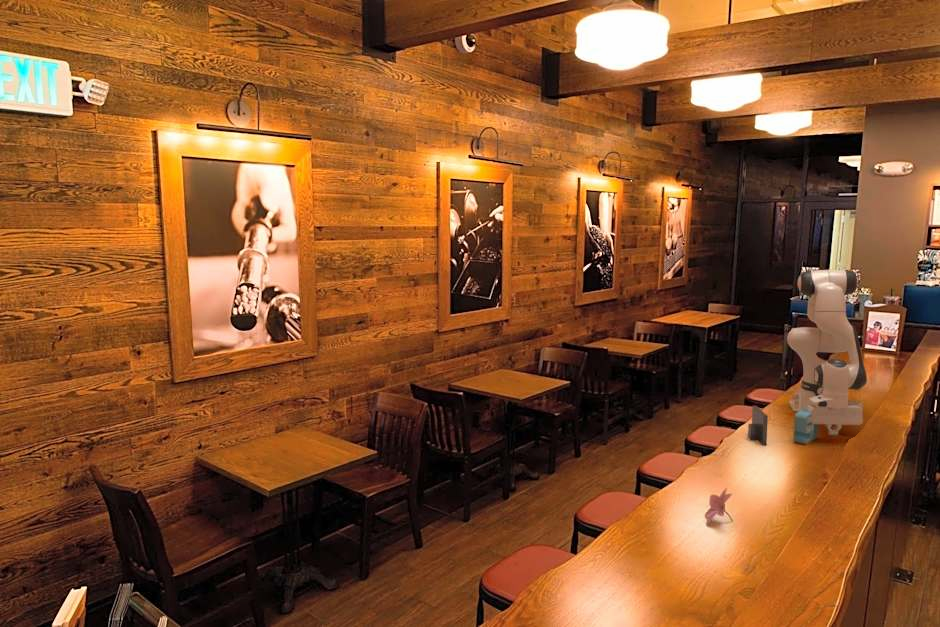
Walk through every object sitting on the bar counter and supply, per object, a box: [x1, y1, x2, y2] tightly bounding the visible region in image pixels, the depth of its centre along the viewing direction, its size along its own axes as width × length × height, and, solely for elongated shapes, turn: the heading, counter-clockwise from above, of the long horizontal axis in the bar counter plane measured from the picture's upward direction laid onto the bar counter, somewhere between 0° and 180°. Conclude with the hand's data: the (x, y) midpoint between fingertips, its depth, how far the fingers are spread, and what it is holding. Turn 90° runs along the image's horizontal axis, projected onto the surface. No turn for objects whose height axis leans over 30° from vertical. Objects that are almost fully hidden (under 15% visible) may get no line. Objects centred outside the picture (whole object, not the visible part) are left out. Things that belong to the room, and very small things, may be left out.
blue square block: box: [793, 408, 819, 445], centre depth 249 cm, size 12×4×12 cm, turn 131°
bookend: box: [747, 405, 769, 446], centre depth 252 cm, size 14×4×12 cm, turn 172°
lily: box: [704, 487, 734, 526], centre depth 184 cm, size 12×12×10 cm
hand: (833, 434), depth 248 cm, fingers closed
